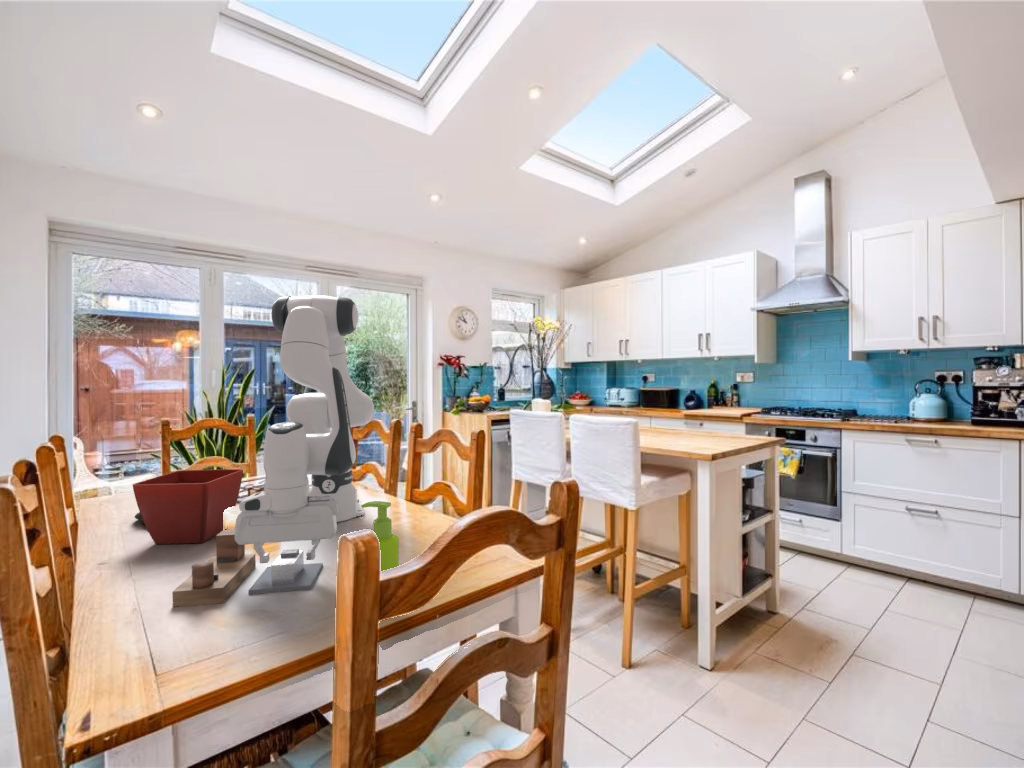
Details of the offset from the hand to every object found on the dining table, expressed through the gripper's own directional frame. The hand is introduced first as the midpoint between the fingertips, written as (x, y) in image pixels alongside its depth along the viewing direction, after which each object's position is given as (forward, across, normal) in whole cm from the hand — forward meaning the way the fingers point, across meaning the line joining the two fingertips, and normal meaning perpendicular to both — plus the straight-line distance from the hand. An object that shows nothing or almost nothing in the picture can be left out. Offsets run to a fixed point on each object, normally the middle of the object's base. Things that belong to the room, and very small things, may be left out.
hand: (287, 560), depth 104 cm
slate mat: (+4, 0, 0) cm, 4 cm away
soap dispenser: (+4, -21, +16) cm, 27 cm away
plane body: (+4, +14, 0) cm, 15 cm away
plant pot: (+4, +34, -35) cm, 49 cm away
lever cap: (+3, 0, 0) cm, 3 cm away
